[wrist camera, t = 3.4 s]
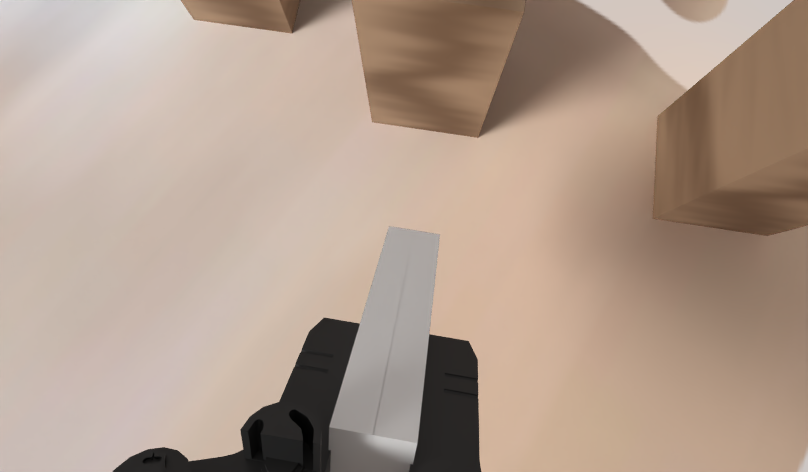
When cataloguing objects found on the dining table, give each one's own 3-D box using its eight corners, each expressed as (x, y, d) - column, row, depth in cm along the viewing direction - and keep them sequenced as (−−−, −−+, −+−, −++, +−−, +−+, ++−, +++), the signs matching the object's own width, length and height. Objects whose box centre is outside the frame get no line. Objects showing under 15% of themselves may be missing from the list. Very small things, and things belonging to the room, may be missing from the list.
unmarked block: (372, 122, 25) (349, -12, 15) (389, 29, 26) (379, -150, 16) (477, 137, 25) (524, 12, 15) (490, 43, 26) (541, -130, 16)
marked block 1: (652, 218, 24) (829, 138, 14) (657, 114, 25) (822, -28, 15) (767, 235, 23) (1030, 167, 14) (766, 129, 25) (1007, -5, 15)
